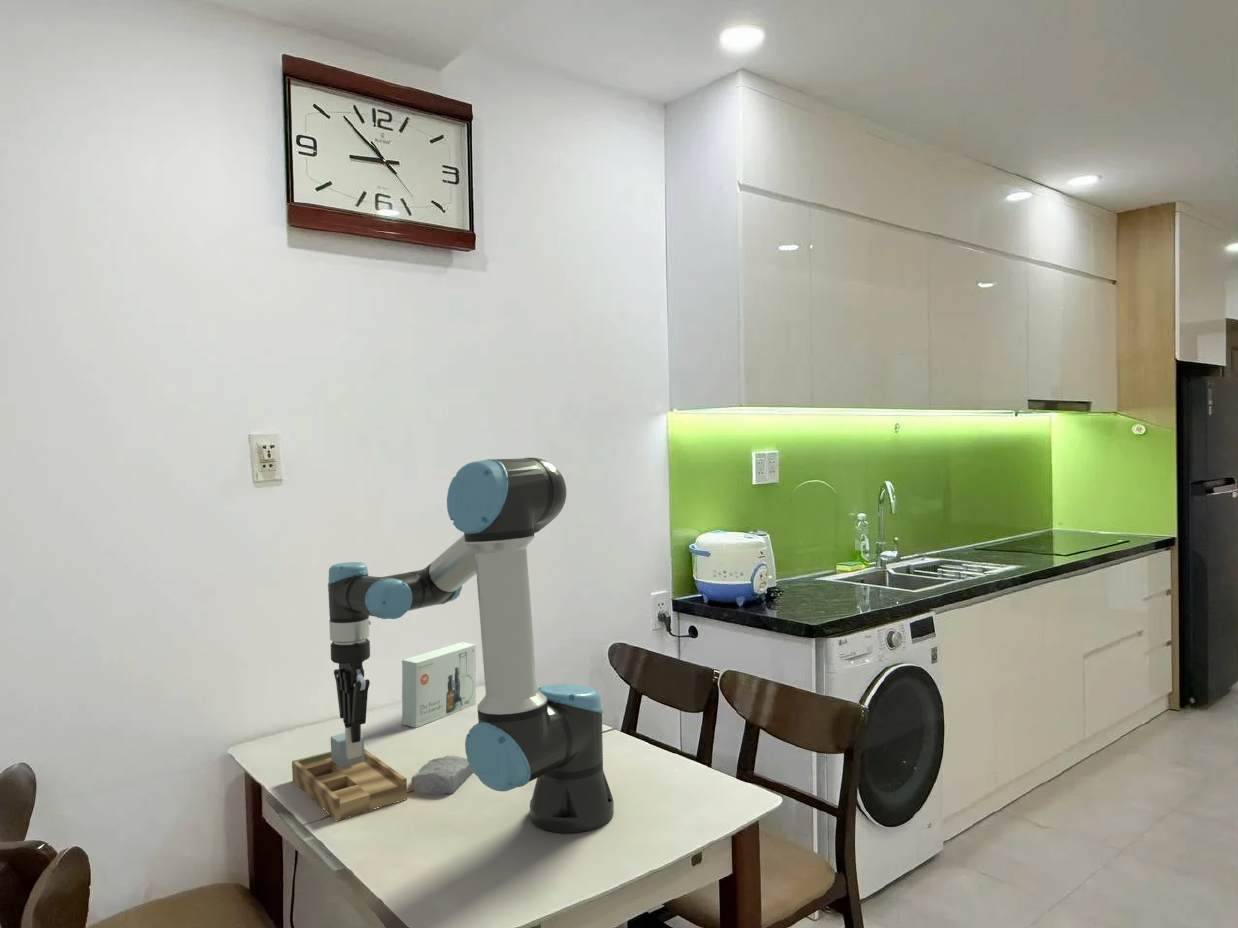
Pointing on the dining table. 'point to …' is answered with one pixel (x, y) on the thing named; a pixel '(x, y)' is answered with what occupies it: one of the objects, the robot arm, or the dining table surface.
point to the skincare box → (438, 683)
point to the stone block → (441, 775)
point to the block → (344, 751)
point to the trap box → (349, 784)
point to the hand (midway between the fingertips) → (353, 756)
